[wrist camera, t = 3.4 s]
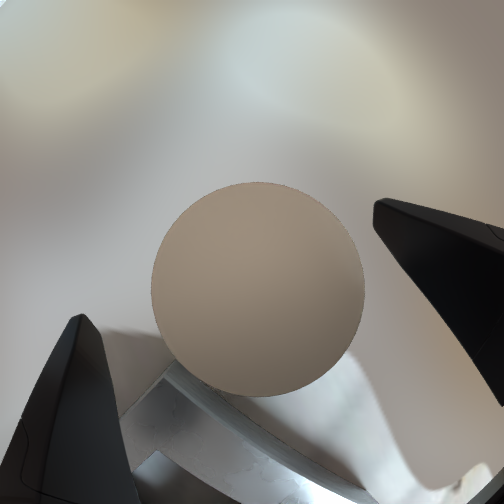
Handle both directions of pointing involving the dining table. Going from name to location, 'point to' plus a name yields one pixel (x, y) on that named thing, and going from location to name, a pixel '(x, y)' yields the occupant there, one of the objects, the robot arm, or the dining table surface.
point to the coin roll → (257, 289)
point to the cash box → (225, 446)
